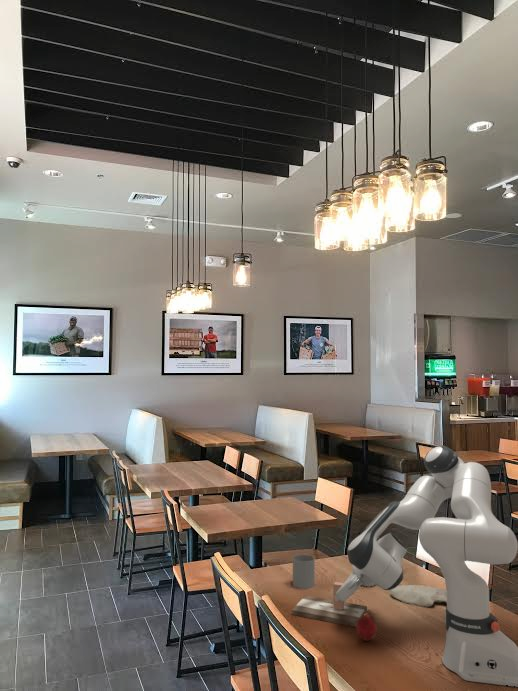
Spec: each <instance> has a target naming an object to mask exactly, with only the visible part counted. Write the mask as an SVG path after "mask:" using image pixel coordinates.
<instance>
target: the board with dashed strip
mask: <svg viewBox="0 0 518 691" xmlns="http://www.w3.org/2000/svg"><path fill="white" fill-rule="evenodd" d="M366 611H368V606H367V605H364V604H362V605H361V604H356V603H351V602H346V601H344V608H343V610H338V609H333V599H328V598H321V597H317V596H311V595H304V597H303V598H301V599H300V601H298V603H297V604H296V605H295V606H294V607H293V608H292V609H291V615H292V616H297V617H302V618H308V619H312V620H313V619H314V620H318V621H323V622H329V623H334V624H338V625H339V624H340V625H345V626H349V625H350V627H354V626H355V628H357V623H358V620H359V619H360V618H361V617H363V616H364V614H365V613H367V612H366Z"/></svg>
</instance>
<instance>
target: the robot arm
mask: <svg viewBox="0 0 518 691" xmlns="http://www.w3.org/2000/svg"><path fill="white" fill-rule="evenodd" d="M423 464H424V466H425V469H426V470H427V472H428V473H429V474H431V475H422V476H420V477H419V478H418V479H417V480H416V481H415V482H414V483H413V484H412V485H411V487H410V488H409V490H408V491H407V493H406V494H405V496H404V498H402V499H401V501H397V500H395V501H392V502H390V503H389V504H387V505H386V506H385V507H383V509H382V510H381V511H380V512H379V513H378V514H377V515H376V517H374V518H373V520H371V522H370V523H369V524H368V525H367V526H366V527H365V528H364V529H365V530H364V531H363V532H362V533H361V534H360V535H359V536H358V535H357V536H356V537H355V538H354V539H353V540H352V541H351V542H350V543H349V545H348V547H347V550H346V552H347V559H348V562H349V563H350V564H351V565H352V569H351V573H350V575H349V576H348V577H347V579H346V580H345V581H344V582H343V583H344V584H343V585H342V586H341V587H340V588H339V590H338V591H337V592H336V595H335V596H334V599H335V600H336V601H339V600H341V601H342V602H346V601H347V600H348V599H349V598H350V597H351V596H352V595H353V594H355V593H356V592H357V590H358V589H359V588H360V587H361V585H364V586H363V587H366V586H365V585H368V586H371V585H373V584H374V583H376V584H375V585H377V586H378V587H379V588H380V589H382V590H383V591H390V590H391V589H394V588H396V587H397V586H400V584H401V583H402V581H403V580H404V569H403V566H402V564H403V559H404V556H405V555H406V553H407V552H408V548H407V545H406V544H405V542H404V541H402V540H401V538H399V537H398V536H397V535H396V534H395V533H392V532H389V533H387V534H385V535H384V536H382V537H381V538H379V537H380V536H381V535H382V534H383V532H384V531H385V530H386V529H387V528H388V527H389V525H390V524H396V525H398V526H401V527H404V528H405V529H409V530H415V531H416V530H417V531H418V539H419V540H418V541H419V543H420V545H421V547H422V549H423V550H424V551H425V552H426V553H427V554H428V555H429V556H430V557H431V558H432V559H433V560H434V561H435V563H436V564H437V566H438V567H439V569H440V571H441V573H442V575H443V578H444V582H445V589H446V590H445V591H446V593H447V603H446V607H445V612H444V625H445V630H446V635H445V643H444V649H443V654H442V656H441V662H442V665H444V666H445V667H446V668H447V669H448V670H450V671H452V672H453V673H456V675H458V676H459V677H460V678H461V679H463V680H464V681H469V682H474V683H481V684H482V683H484V684H491V685H499V686H506V685H508V687H514V686H515V687H516V688H518V646H517V643H515V642H514V641H513V640H512V639H510V637H508V636H507V635H505V634H504V633H503V632H502V631H501V629H500V623H499V620H498V618H497V615H496V614H492V613H491V612H490V587H489V585H488V583H487V582H486V580H485V579H484V578H483V577H482V576H480V575H479V574H477V573H476V572H474V571H473V570H471V569H470V568H469V567H468V566H467V564H466V562H472V563H478V564H479V563H481V564H487V565H503V564H504V565H505V564H510V563H512V562H513V561H514V560H515V558H516V557H517V553H518V540H517V536H516V534H515V533H514V531H513V530H512V529H511V528H510V527H509V526H507V525H506V524H503V523H502V522H500V520H498V519H497V518H496V516H495V515H494V513H493V511H492V484H491V482H492V481H491V477H490V474H489V471H488V469H487V468H486V467H485V466H484V465H482V464H481V463H479V462H475V461H470V462H469V461H468V462H464V460H463V459H462V458H461V457H459V455H458V454H456V452H455V451H454V450H452V449H451V448H450V447H448V446H447V445H436V446H433V447H432V448H431V449H430V450H429V451H428V452H427V453H426V454H425V457H424V459H423ZM445 500H447V502H448V503H449V504H450V509H451V511H452V513H453V514H454V516H455V518H453V517H446V516H442V517H441V516H440V517H436V514H437V513H438V511H439V508H440V506H441V505H442V503H443V502H445Z"/></svg>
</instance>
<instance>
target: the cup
mask: <svg viewBox="0 0 518 691" xmlns="http://www.w3.org/2000/svg"><path fill="white" fill-rule="evenodd" d="M315 568H316V567H315V556H313V555H309V554H296V555H294V556H293V557H292V586H293V587H295V588H297V589H304V590H306V589H307V590H308V589H312V588H314V587H315V580H316V578H315Z"/></svg>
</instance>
